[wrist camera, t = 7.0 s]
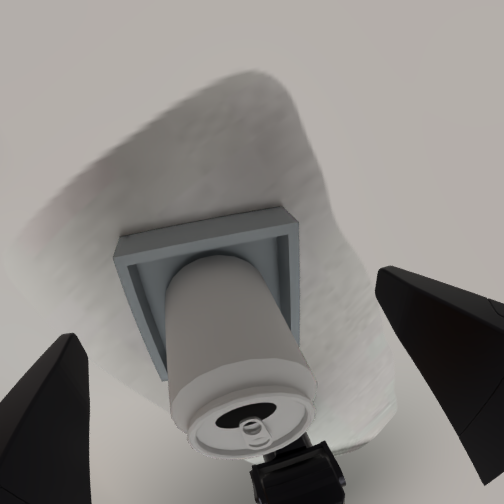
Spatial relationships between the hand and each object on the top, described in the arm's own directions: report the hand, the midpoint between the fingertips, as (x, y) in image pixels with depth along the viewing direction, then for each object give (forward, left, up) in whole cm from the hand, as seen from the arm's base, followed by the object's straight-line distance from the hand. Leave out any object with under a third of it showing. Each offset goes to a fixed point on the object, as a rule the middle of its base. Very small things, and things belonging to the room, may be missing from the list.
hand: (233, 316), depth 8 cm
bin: (-8, 0, -13) cm, 15 cm away
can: (-8, 0, -13) cm, 15 cm away
